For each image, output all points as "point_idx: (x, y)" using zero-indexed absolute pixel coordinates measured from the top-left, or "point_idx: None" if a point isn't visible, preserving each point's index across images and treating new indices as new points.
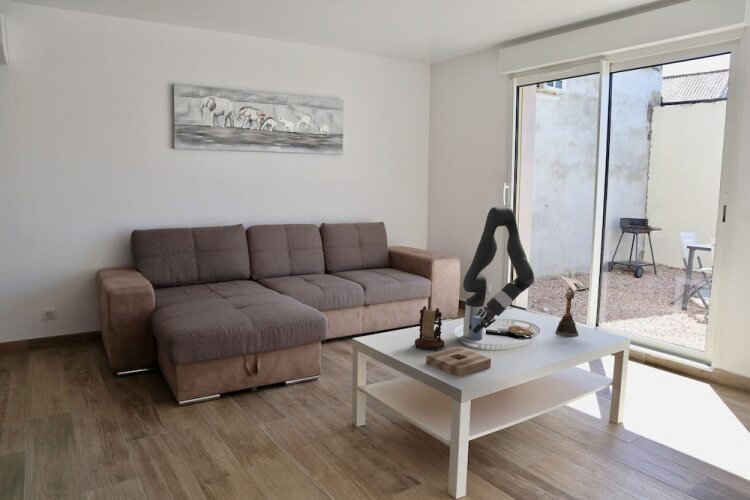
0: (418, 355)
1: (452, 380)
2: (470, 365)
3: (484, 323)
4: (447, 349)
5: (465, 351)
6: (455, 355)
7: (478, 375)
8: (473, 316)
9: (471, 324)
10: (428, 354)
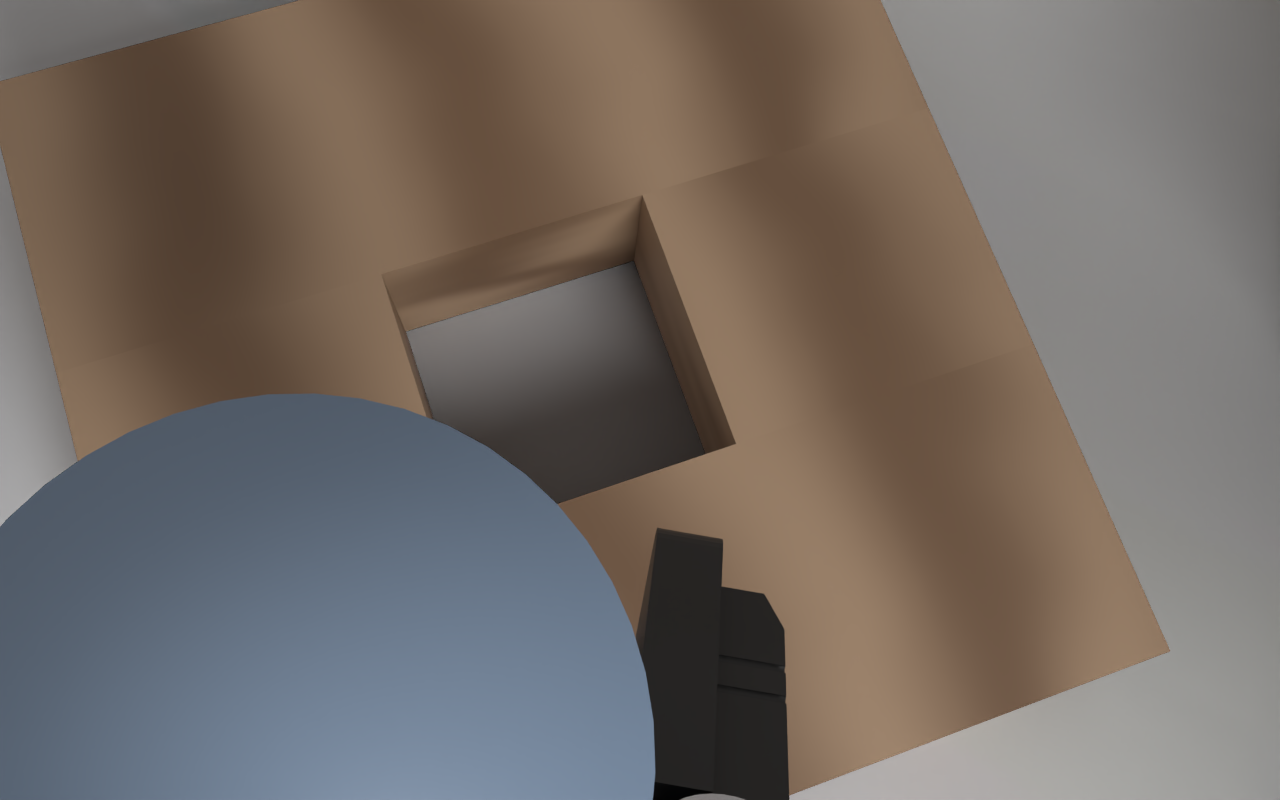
0: (1189, 13)
1: (3, 14)
2: (58, 360)
3: None
4: (1030, 361)
5: (820, 671)
6: (706, 381)
7: (4, 511)
8: (535, 599)
9: (668, 621)
10: None
